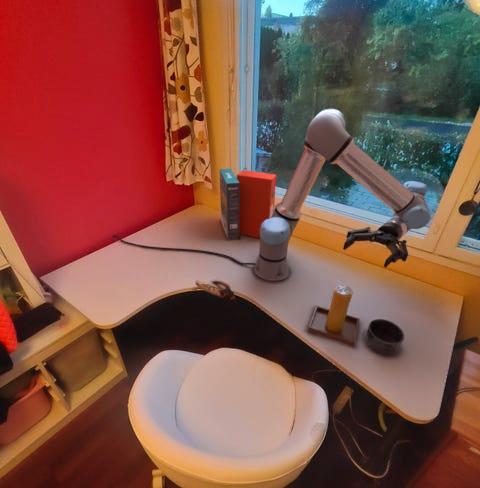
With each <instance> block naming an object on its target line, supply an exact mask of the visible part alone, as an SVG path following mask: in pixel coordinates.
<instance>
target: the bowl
mask: <svg viewBox="0 0 480 488" xmlns="http://www.w3.org/2000/svg"><path fill="white" fill-rule="evenodd" d="M404 341H405V333H404V331H403V329H402V328H401V327H400V326H399V325H397V324H396V323H394V322H393V321H391V320H388V319H384V318H376V319H373V320H371V321H370V322H369V323H368V326H367V329H366V331H365V334H364V342H365V345H366V346H367V347H368V348H369V349H370V350H371V351H373V352H374V353H376V354H378V355H381V356H385V357H392V356H395V355H396V354H397V353H398V352H399V351H400V349H401V347H402V345H403V343H404Z"/></svg>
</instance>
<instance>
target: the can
mask: <svg viewBox="0 0 480 488" xmlns="http://www.w3.org/2000/svg"><path fill="white" fill-rule="evenodd" d="M353 293H354V292H353V289H352V288H351V287H349V286H348V285H344V284H337V285H336V286H334V287H333V292H332V296H331V300H330V303H329V304H330V305H329V308H328V309H329V312H328V316H327V320H326V327H327V328H328V329H329V330H330V331H333V332H339V331H341V330H342V328H343V324H344V321H345V317H346V315H348V314H347V313H348V311H349V307H350V305H351V301H352V296H353Z"/></svg>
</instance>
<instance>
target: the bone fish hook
mask: <svg viewBox="0 0 480 488" xmlns="http://www.w3.org/2000/svg"><path fill="white" fill-rule="evenodd" d="M212 283H214V284H218V285H221V286H222V287H224V289H221V288H219V287H218V286H215V285H213V284H210V283H207V282H204V281H201V280H198V279H197V280H196V281H195V285H196V286H197V287H198V288H199V289H201V290H202V291H203V292H206V293H209V294H210V295H213V296H216V297H219V298H221V299H225V300H229V301H234V300H236V297H235V294H234V293H235V292H234V291H233V290H232V289H231V286H230V285H229V284H228V283H227V282H225V281H223V280H214V281H212Z"/></svg>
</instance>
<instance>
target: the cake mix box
mask: <svg viewBox="0 0 480 488" xmlns="http://www.w3.org/2000/svg"><path fill="white" fill-rule="evenodd" d="M218 171H219V192H220V193H219V195H220V221H221V225H222V227H223V231H224V233H225V236H226V239H227V240H239V239H240V234H239V193H240V183H239V181H238V179H237V175H236V174H235V173H234V171H233V170H232V168H220V169H219V170H218Z"/></svg>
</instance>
